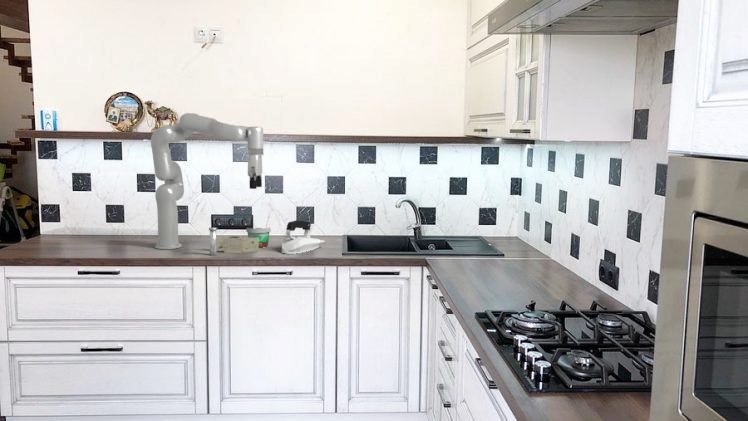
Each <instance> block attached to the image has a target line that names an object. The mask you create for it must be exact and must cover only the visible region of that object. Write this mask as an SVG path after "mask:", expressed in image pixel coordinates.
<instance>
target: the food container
mask: <svg viewBox="0 0 748 421" xmlns="http://www.w3.org/2000/svg"><path fill="white" fill-rule="evenodd" d="M245 232H246V233H247V237H250V238H259V249H264V248H263V247H266V248H268V247H269V238H270V233H271V232H272V230H271V227H265V228H262V227H256V228H251V227H247V228H246V231H245ZM267 246H268V247H267Z"/></svg>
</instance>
